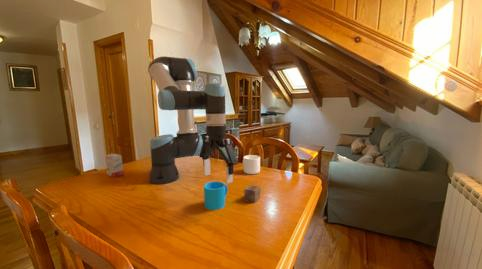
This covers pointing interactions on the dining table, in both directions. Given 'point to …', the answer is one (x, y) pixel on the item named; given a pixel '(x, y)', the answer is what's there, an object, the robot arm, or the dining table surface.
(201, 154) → the robot arm
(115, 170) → the ink box
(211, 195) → the mug
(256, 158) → the mug
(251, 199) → the walnut cube
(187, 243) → the dining table surface
